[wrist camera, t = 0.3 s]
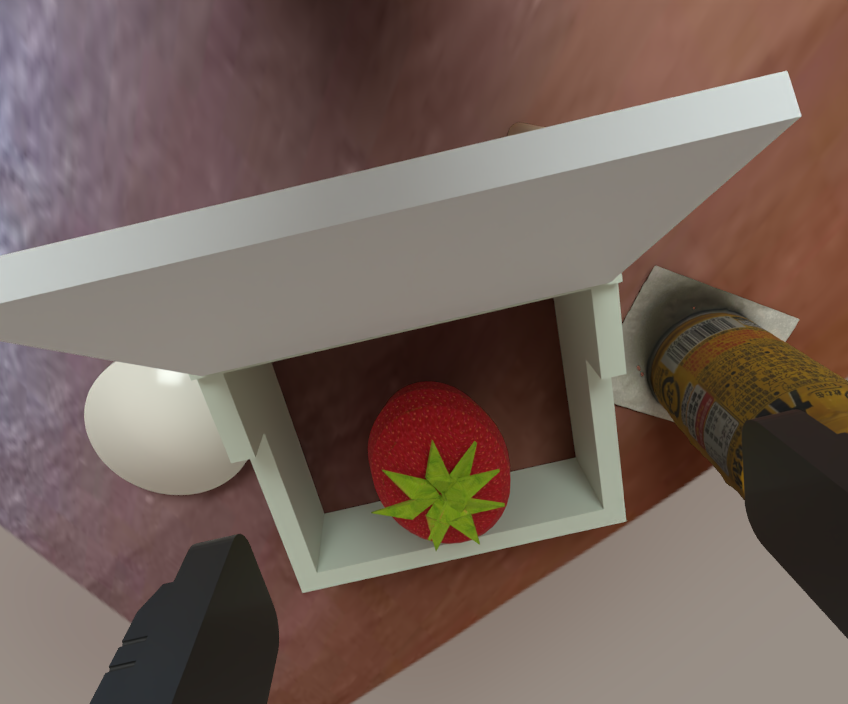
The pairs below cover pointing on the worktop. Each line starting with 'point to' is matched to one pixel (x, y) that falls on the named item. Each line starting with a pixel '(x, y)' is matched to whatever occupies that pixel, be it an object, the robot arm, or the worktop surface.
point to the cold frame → (402, 295)
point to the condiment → (719, 367)
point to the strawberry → (439, 464)
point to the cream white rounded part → (156, 430)
